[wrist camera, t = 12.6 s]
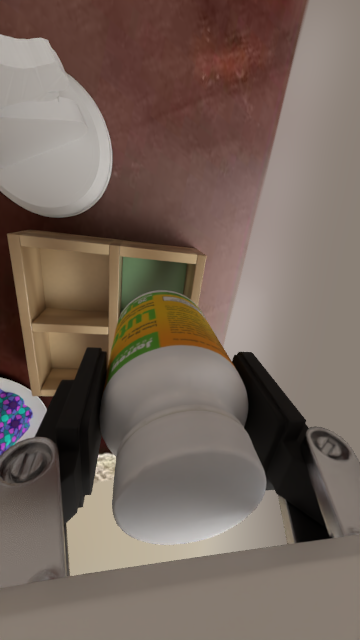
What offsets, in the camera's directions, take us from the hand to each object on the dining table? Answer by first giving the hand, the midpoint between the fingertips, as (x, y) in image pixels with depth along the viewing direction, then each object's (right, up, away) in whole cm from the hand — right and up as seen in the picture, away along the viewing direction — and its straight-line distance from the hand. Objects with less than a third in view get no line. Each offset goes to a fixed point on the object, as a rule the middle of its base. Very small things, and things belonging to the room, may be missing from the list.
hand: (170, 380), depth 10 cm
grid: (-6, +3, +14) cm, 16 cm away
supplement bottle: (-1, +2, +5) cm, 5 cm away
